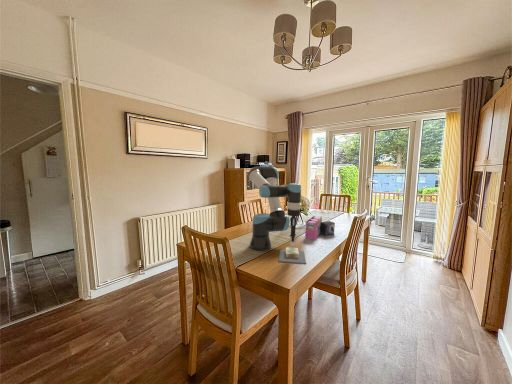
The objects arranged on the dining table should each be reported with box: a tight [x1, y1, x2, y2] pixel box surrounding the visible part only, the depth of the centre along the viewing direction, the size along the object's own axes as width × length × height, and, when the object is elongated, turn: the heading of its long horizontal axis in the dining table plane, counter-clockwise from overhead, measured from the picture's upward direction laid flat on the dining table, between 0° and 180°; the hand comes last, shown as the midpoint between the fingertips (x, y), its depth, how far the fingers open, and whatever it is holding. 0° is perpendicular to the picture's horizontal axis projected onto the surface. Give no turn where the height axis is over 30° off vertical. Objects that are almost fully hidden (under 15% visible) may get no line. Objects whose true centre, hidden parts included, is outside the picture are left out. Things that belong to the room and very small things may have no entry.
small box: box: [319, 220, 336, 237], centre depth 181 cm, size 11×6×10 cm, turn 116°
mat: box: [278, 249, 307, 265], centre depth 136 cm, size 16×18×1 cm
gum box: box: [304, 215, 323, 241], centre depth 179 cm, size 24×8×14 cm, turn 150°
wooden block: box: [285, 247, 299, 258], centre depth 138 cm, size 8×3×10 cm
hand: (292, 245), depth 133 cm, fingers closed
